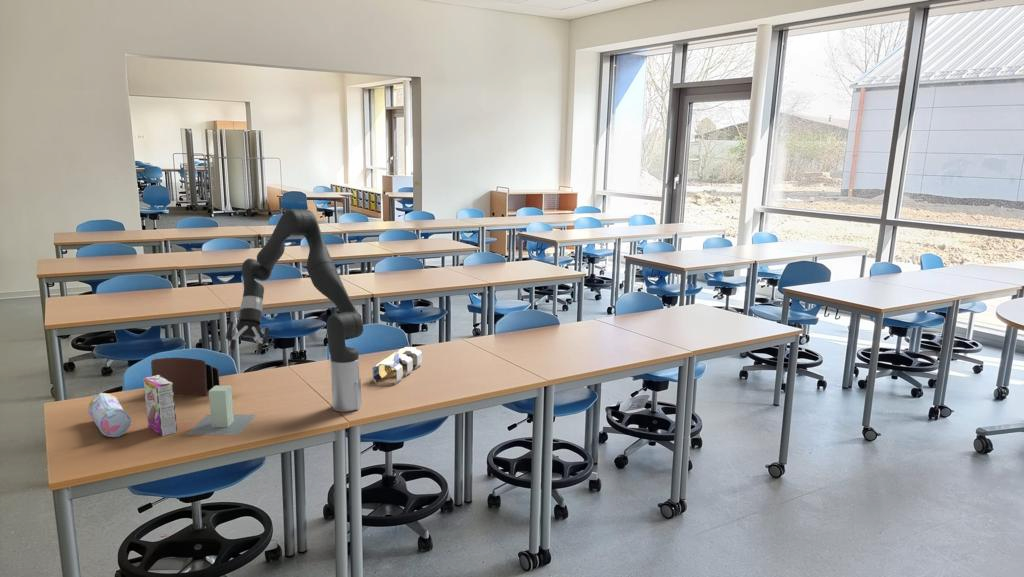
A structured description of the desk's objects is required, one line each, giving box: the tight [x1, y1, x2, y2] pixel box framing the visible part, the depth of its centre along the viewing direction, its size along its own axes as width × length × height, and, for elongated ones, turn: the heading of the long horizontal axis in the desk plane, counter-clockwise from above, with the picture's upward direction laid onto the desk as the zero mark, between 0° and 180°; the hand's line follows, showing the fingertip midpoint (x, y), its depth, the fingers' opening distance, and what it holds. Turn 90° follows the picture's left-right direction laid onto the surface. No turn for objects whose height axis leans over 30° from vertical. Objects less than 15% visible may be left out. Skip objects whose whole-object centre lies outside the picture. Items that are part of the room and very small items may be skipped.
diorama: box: [371, 346, 423, 385], centre depth 261 cm, size 25×10×13 cm, turn 166°
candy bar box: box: [142, 375, 178, 437], centre depth 202 cm, size 11×5×16 cm, turn 48°
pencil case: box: [87, 392, 132, 438], centre depth 204 cm, size 21×9×10 cm, turn 41°
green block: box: [208, 385, 234, 427], centre depth 208 cm, size 5×5×12 cm
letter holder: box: [150, 357, 221, 397], centre depth 237 cm, size 10×20×14 cm, turn 88°
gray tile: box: [186, 414, 257, 436], centre depth 209 cm, size 16×16×1 cm
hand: (245, 352), depth 235 cm, fingers open, 8 cm apart
